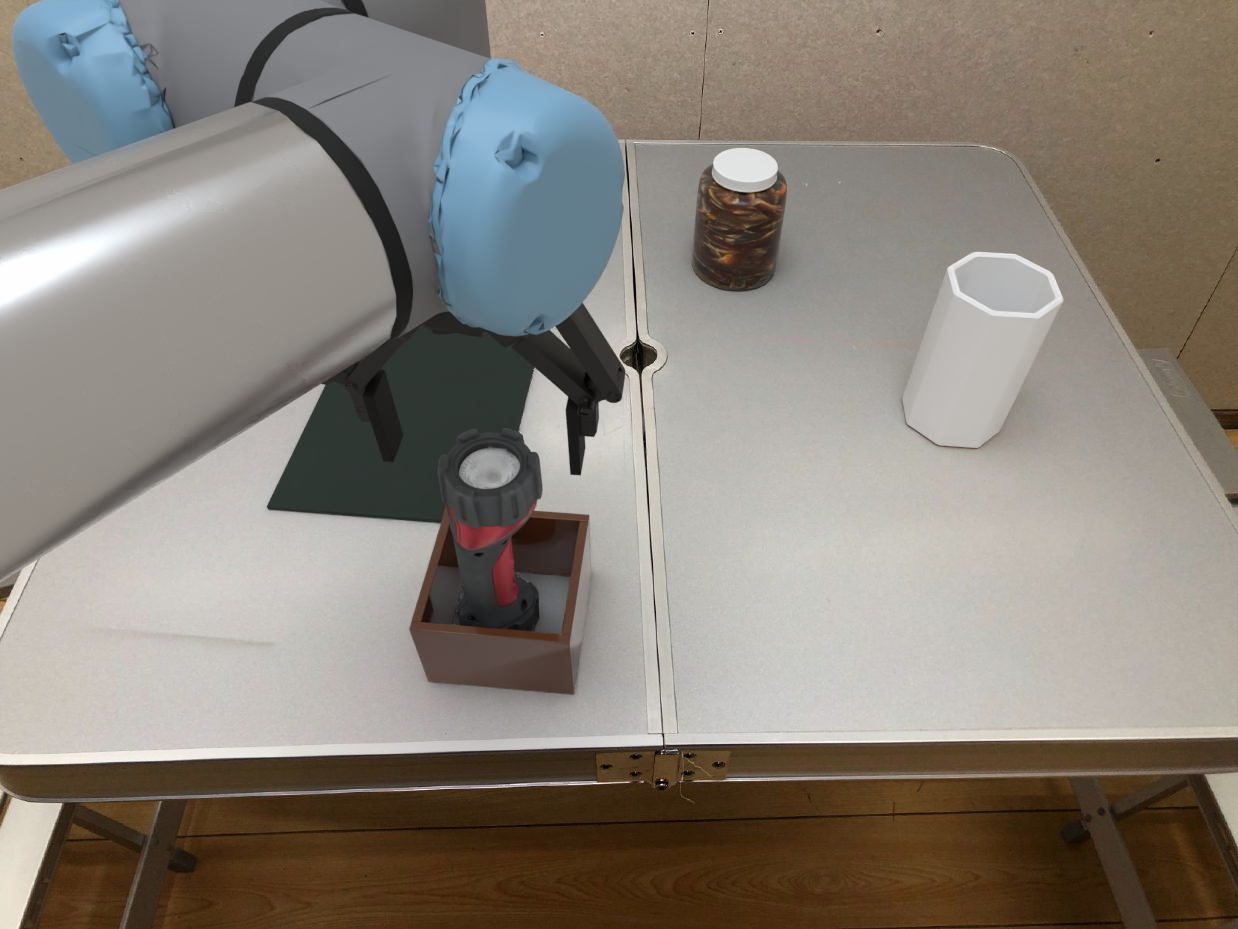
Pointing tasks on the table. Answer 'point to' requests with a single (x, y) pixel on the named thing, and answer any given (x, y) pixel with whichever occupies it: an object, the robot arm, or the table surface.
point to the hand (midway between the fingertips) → (485, 455)
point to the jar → (739, 220)
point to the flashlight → (491, 525)
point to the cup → (979, 347)
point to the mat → (404, 429)
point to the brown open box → (502, 652)
